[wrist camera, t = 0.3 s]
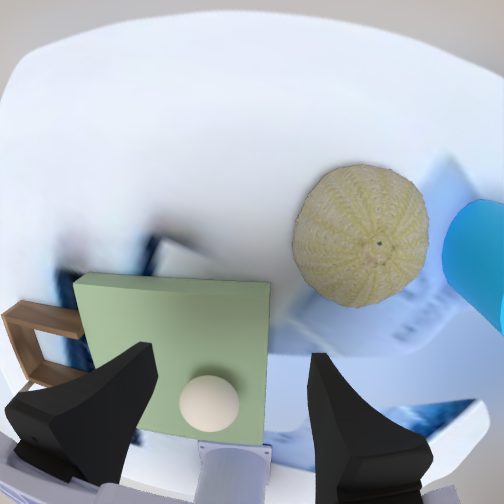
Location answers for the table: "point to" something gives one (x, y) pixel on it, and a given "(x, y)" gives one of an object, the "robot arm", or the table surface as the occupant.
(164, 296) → the green
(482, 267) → the mug
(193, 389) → the ball
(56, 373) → the open wooden cubby
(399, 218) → the sea urchin shell
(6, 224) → the table surface
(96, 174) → the table surface
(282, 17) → the table surface
